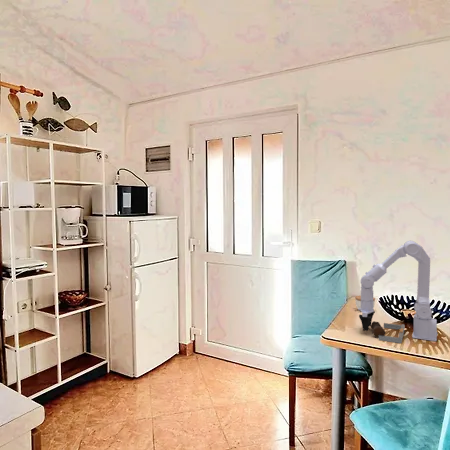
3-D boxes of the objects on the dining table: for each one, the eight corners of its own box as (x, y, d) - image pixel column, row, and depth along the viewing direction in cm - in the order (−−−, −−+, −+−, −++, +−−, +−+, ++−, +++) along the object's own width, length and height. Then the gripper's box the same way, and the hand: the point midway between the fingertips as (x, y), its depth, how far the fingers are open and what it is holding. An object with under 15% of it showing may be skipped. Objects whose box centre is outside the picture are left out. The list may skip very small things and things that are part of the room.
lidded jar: (351, 309, 212) (351, 293, 212) (364, 307, 217) (364, 292, 216) (365, 314, 202) (365, 297, 202) (379, 311, 207) (379, 295, 207)
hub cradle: (404, 329, 175) (404, 323, 175) (401, 343, 156) (401, 337, 156) (383, 326, 179) (384, 321, 179) (378, 340, 161) (378, 333, 161)
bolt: (376, 331, 177) (380, 341, 163) (366, 326, 179) (370, 334, 164) (382, 322, 177) (387, 330, 162) (373, 316, 178) (377, 324, 163)
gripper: (360, 296, 181) (360, 322, 181) (355, 302, 168) (355, 331, 169) (375, 297, 178) (375, 324, 178) (371, 304, 165) (371, 333, 165)
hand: (366, 328), depth 173 cm, fingers open, 7 cm apart
